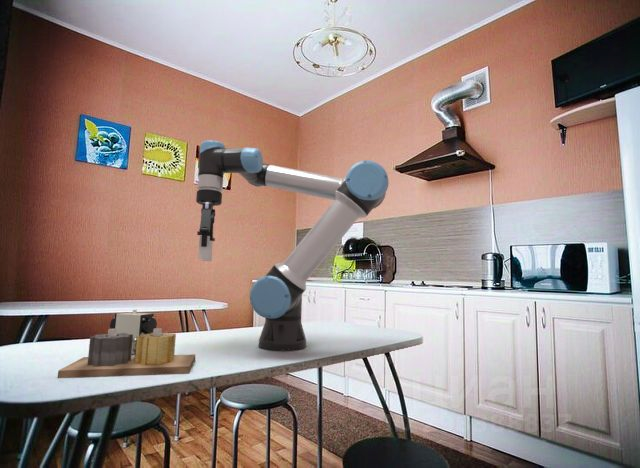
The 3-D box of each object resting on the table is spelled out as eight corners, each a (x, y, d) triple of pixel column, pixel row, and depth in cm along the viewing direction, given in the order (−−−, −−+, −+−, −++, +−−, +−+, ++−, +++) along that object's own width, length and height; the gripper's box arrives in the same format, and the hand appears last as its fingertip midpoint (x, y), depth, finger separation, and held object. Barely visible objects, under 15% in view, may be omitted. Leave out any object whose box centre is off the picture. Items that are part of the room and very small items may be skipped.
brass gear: (140, 357, 88) (142, 332, 88) (176, 356, 89) (177, 332, 90) (130, 365, 80) (132, 338, 80) (170, 364, 81) (172, 337, 82)
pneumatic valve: (143, 356, 96) (147, 311, 97) (106, 353, 98) (110, 309, 100) (156, 352, 101) (160, 309, 103) (121, 350, 103) (125, 308, 105)
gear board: (195, 360, 93) (197, 325, 94) (189, 373, 80) (191, 332, 81) (83, 363, 87) (87, 325, 88) (57, 378, 74) (62, 333, 75)
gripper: (200, 199, 121) (196, 261, 118) (192, 179, 97) (186, 257, 94) (223, 200, 123) (219, 262, 120) (220, 181, 99) (216, 258, 96)
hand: (205, 260), depth 107 cm, fingers open, 13 cm apart
